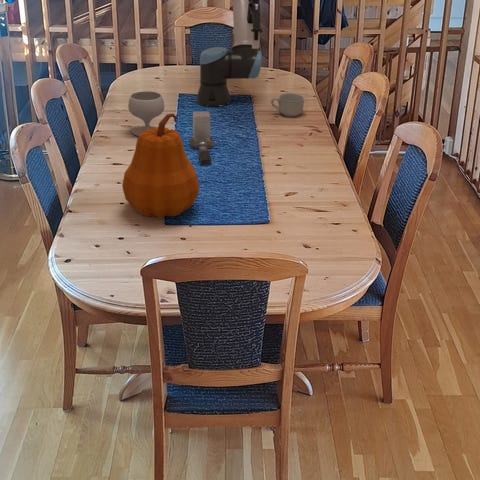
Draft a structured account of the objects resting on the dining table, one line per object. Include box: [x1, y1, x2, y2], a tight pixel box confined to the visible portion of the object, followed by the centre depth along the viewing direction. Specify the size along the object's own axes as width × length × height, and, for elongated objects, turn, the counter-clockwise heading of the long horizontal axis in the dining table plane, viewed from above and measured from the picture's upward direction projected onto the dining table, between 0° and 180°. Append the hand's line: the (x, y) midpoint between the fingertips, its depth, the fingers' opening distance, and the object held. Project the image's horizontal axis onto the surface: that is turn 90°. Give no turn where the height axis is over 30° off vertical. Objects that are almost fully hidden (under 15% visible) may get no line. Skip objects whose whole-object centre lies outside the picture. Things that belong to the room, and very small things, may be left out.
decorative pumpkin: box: [121, 113, 201, 219], centre depth 229 cm, size 24×24×30 cm
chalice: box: [127, 91, 165, 137], centre depth 294 cm, size 14×14×15 cm
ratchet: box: [189, 136, 215, 166], centre depth 278 cm, size 24×9×6 cm, turn 7°
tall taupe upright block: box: [192, 111, 211, 143], centre depth 282 cm, size 6×6×10 cm
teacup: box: [270, 92, 305, 118], centre depth 319 cm, size 14×11×8 cm
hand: (253, 44), depth 297 cm, fingers open, 13 cm apart
